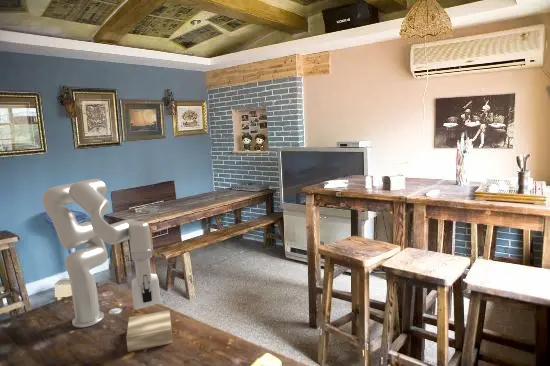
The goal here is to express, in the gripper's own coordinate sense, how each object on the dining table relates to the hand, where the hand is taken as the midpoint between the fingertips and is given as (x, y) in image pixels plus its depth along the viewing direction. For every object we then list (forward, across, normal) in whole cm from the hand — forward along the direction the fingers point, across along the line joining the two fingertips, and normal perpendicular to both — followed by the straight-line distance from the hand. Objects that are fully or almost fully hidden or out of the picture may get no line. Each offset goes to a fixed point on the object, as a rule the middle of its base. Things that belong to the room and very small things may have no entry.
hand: (146, 298), depth 149 cm
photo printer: (+3, 0, 0) cm, 3 cm away
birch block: (+16, 0, 0) cm, 16 cm away
